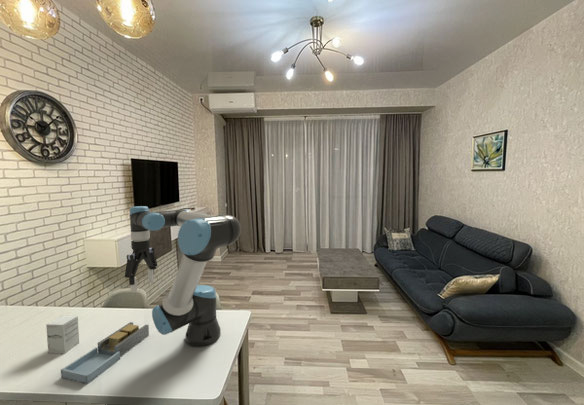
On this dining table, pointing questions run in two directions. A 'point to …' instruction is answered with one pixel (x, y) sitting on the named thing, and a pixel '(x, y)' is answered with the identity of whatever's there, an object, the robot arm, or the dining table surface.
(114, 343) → the yellow brown block
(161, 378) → the dining table surface
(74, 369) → the tray
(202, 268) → the robot arm
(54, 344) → the supplement box
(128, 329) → the chip
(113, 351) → the slot bed
